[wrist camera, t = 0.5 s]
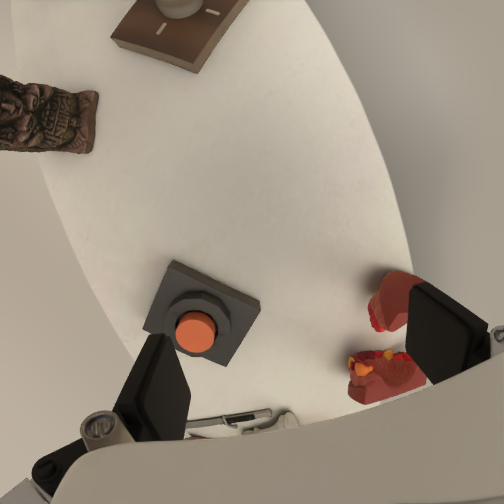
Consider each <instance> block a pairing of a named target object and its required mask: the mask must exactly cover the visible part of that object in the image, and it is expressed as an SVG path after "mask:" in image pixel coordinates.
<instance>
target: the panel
mask: <svg viewBox="0 0 504 504" xmlns="http://www.w3.org/2000/svg"><path fill="white" fill-rule="evenodd" d="M248 1H249V0H203V4H202V6H201V8H200V9H199V10H198V11H197V12H196V13H194V14H193V15H191V16H189V17H186V18H182V19H171V18H167V17H165V16H164V15H163V14H162V13H161V12H160V10H159V8H158V6H157V4H156V2H155V0H137V1H136V2H135V3H134V5H133V6H132V7H131V9H130V10H129V11H128V13H127V14H126V15H125V17H124V18H123V19H122V21H121V22H120V24H119V25H118V26H117V28H116V29H115V31H114V32H113V34H112V35H111V37H110V38H111V39H112V40H113V41H114V42H115V43H116V44H117V45H118V46H119V47H121V48H124V49H128V50H131V51H134V52H138V53H141V54H144V55H147V56H150V57H153V58H156V59H159V60H162V61H165V62H168V63H170V64H173V65H176V66H179V67H181V68H184V69H187V70H189V71H192V72H194V73H197V74H198V72H199V71H200V69H201V68H202V66H203V64H204V63H205V61H206V60H207V58H208V57H209V55H210V54H211V52H212V51H213V49H214V48H215V46H216V45H217V43H218V42H219V40H220V39H221V37H222V36H223V35H224V33H225V32H226V30H227V29H228V28H229V26H230V25H231V23H232V22H233V21H234V19H235V18H236V17H237V15H238V14H239V13H240V11H241V10H242V9H243V8H244V6H245V5H246V4H247V2H248Z"/></svg>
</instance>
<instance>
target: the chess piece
mask: <svg viewBox="0 0 504 504" xmlns="http://www.w3.org/2000/svg"><path fill="white" fill-rule="evenodd" d="M293 427H299V423H298V421H297V419H296V417H295V416H294V414H292V413H290V412H287V413H286V414H285V415H281V416H280V417H279V420H278V421H277V422H276V424H275V425H273V426H272V427H270V428H266V429H259V428H257V427H256V428H255V429H254V431H250V430H249V431H245V432H244V433H242V435H250V434H257V433H264V432H271V431H277V430H283V429H288V428H293ZM242 435H241V436H242Z"/></svg>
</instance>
